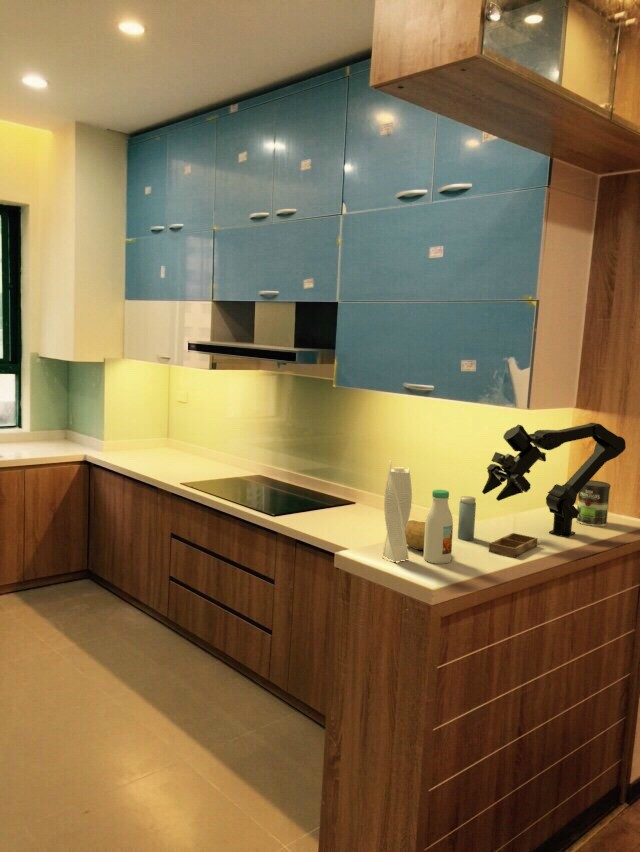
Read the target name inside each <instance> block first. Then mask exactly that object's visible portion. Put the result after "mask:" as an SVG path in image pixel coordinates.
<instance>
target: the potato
mask: <svg viewBox="0 0 640 852" xmlns="http://www.w3.org/2000/svg"><path fill="white" fill-rule="evenodd" d="M425 522H426V521H419V520H414V519H413V520H412V519H411V520H408V524H407V527H406V530H405V535H406V542H407V546H409V547H411V548H413V549H415V548H416V550H422V551H424V537H425Z"/></svg>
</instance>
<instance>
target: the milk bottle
mask: <svg viewBox="0 0 640 852" xmlns="http://www.w3.org/2000/svg"><path fill="white" fill-rule="evenodd" d="M431 494H432V495H431V496H432V497H431V499H432V503H431V505H430V508H429V509H428V512H427V514H426V516H425V517H426V518H425V521H424V522H425V537H424V550H423V559H425V560H424V561H426V562H427V561H428V563H431V564H436V565H437V564H439V565H443V564H449V563H450V562H451V560H452V547H453V532H454V531H453V529H454V525H453V524H454V523H453V522H454V521H453V514H452V512H451V509H450V506H449V501H448V500H449V499H450V498H449V497H450V492H449V491H448V490H446V489H433V490H432V493H431Z"/></svg>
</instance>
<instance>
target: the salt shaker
mask: <svg viewBox="0 0 640 852" xmlns="http://www.w3.org/2000/svg"><path fill="white" fill-rule="evenodd" d="M458 506H459V507H458V509H459V510H458V524H457V527H458V528H457V539H458V540H461V541H474V540H475V527H476V526H475V525H476V511H477V510H476V508H477V503H476V497H473V496H467V495H466V496H460V501H459V505H458Z"/></svg>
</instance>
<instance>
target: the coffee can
mask: <svg viewBox="0 0 640 852" xmlns="http://www.w3.org/2000/svg"><path fill="white" fill-rule="evenodd" d="M611 487H612V486H611V484H610V483H608V482H604V481H599V480H591V479H590V480H589V481H588V483H587V484H586V485H585V486H584V487H583V488H582V489H581V490H580V491H579V492H578V494H577V506H576V509H577V510H578V511H579V514H578V517H577V518H575V522H576V521H577V522H576V523H578V524H580V523H581V524H580V525H583V524H585V525H584V526H588V525H592V526H591V527H605V526H607V525H608V515H609V513H608V512H609V503H610V494H611V493H610V492H611V491H610V490H611Z"/></svg>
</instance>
